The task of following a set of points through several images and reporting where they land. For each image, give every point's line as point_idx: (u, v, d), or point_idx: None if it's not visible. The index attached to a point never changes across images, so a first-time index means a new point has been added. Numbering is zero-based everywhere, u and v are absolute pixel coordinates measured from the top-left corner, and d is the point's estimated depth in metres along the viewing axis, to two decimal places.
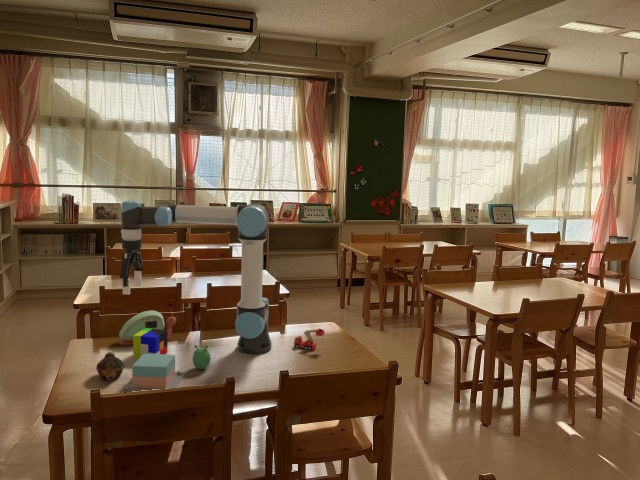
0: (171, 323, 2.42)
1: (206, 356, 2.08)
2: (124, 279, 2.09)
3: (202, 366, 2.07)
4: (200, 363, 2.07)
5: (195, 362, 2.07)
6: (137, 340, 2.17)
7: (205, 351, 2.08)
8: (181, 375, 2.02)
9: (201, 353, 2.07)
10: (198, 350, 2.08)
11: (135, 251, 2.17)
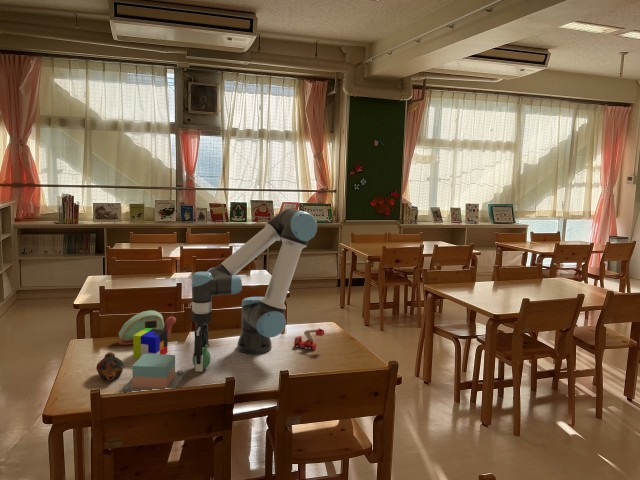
0: (171, 323, 2.42)
1: (206, 356, 2.08)
2: (198, 356, 2.04)
3: None
4: None
5: None
6: (137, 340, 2.17)
7: (205, 351, 2.08)
8: (181, 375, 2.02)
9: None
10: None
11: None
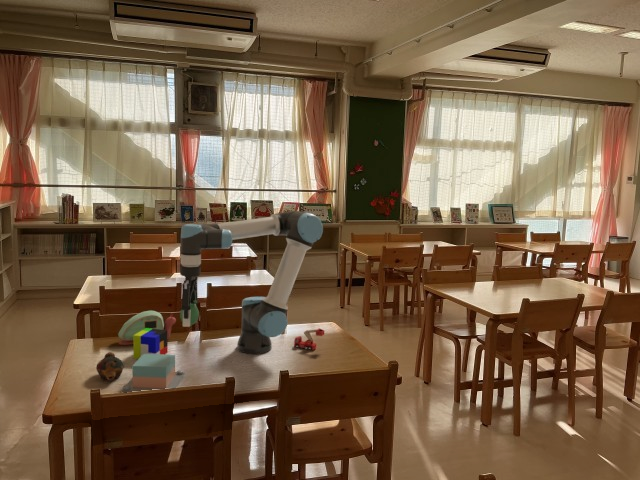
0: (170, 323, 2.42)
1: (194, 311, 2.01)
2: (185, 311, 1.98)
3: None
4: None
5: (182, 317, 2.01)
6: (137, 340, 2.17)
7: (193, 306, 2.02)
8: (181, 375, 2.02)
9: None
10: None
11: (194, 276, 2.03)
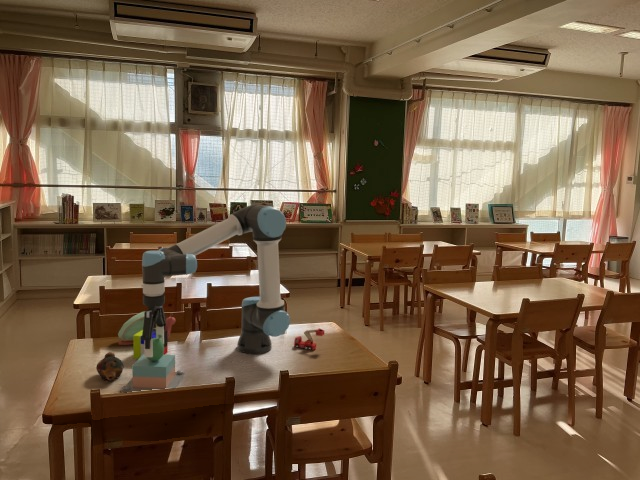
0: (170, 323, 2.42)
1: (158, 347, 1.91)
2: (146, 341, 1.85)
3: (154, 357, 1.91)
4: None
5: None
6: (137, 340, 2.17)
7: (158, 341, 1.92)
8: (181, 375, 2.02)
9: (153, 343, 1.91)
10: None
11: (158, 307, 1.93)
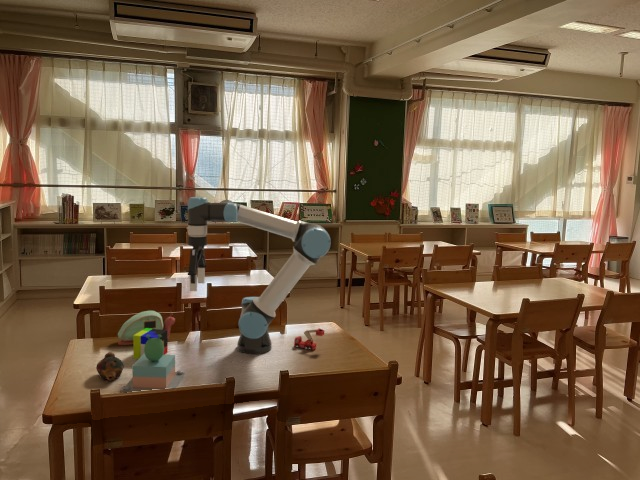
0: (170, 323, 2.42)
1: (158, 346, 1.91)
2: (192, 276, 2.07)
3: (154, 357, 1.91)
4: (152, 354, 1.91)
5: (146, 353, 1.91)
6: (137, 340, 2.17)
7: (158, 341, 1.92)
8: (181, 375, 2.02)
9: (153, 343, 1.91)
10: (150, 340, 1.92)
11: (200, 248, 2.15)
